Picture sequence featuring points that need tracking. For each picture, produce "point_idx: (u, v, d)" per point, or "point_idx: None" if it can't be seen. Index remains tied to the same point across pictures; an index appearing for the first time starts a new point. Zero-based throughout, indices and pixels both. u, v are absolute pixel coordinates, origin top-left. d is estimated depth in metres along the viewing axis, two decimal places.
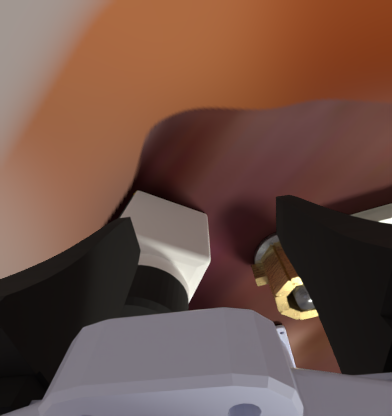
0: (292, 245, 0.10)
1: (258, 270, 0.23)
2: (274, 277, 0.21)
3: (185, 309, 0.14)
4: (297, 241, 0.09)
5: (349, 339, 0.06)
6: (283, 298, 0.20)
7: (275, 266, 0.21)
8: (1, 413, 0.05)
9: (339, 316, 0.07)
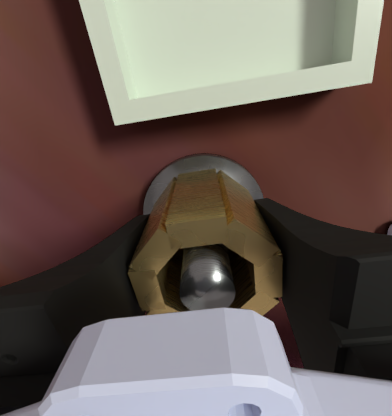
0: None
1: None
2: None
3: None
4: None
5: (310, 342, 0.06)
6: None
7: None
8: (1, 413, 0.05)
9: (302, 320, 0.07)
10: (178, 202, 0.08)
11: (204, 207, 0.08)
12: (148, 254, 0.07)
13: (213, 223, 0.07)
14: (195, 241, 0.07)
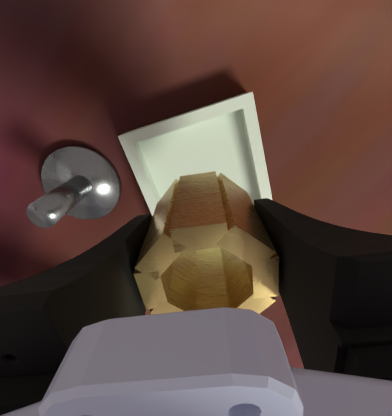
0: None
1: None
2: None
3: None
4: None
5: (309, 342, 0.06)
6: None
7: None
8: (1, 413, 0.05)
9: (302, 320, 0.07)
10: (181, 206, 0.09)
11: (206, 212, 0.08)
12: (153, 257, 0.08)
13: (214, 228, 0.07)
14: (197, 245, 0.08)
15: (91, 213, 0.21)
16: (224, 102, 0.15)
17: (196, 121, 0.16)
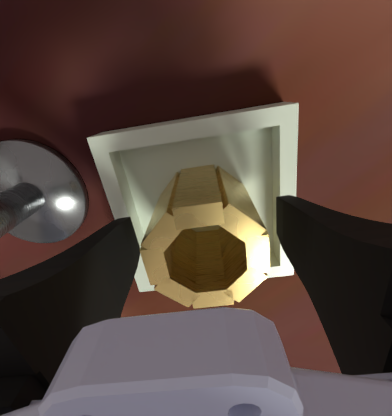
0: (292, 245, 0.10)
1: None
2: None
3: None
4: (297, 241, 0.09)
5: (349, 339, 0.06)
6: (198, 297, 0.10)
7: None
8: (1, 413, 0.05)
9: (339, 316, 0.07)
10: (181, 192, 0.10)
11: (204, 195, 0.09)
12: (157, 234, 0.09)
13: (211, 207, 0.08)
14: (196, 223, 0.09)
15: (42, 235, 0.15)
16: (254, 112, 0.10)
17: (208, 133, 0.11)
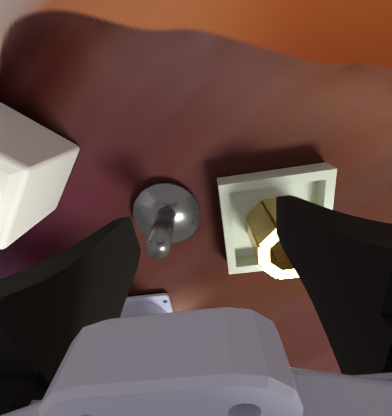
0: (292, 245, 0.10)
1: None
2: None
3: None
4: (297, 241, 0.09)
5: (349, 339, 0.06)
6: (283, 272, 0.19)
7: None
8: (1, 413, 0.05)
9: (339, 316, 0.07)
10: None
11: None
12: (268, 239, 0.18)
13: None
14: None
15: None
16: (312, 173, 0.19)
17: (286, 183, 0.19)
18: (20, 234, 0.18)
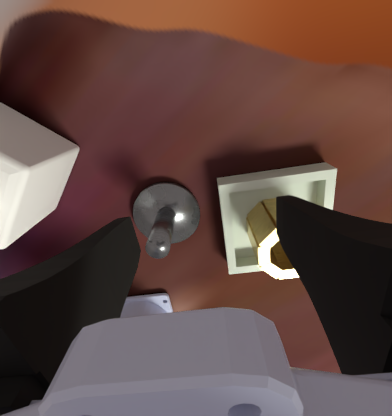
0: (292, 245, 0.10)
1: None
2: None
3: None
4: (297, 241, 0.09)
5: (349, 339, 0.06)
6: (283, 272, 0.19)
7: None
8: (1, 413, 0.05)
9: (339, 316, 0.07)
10: None
11: None
12: (268, 239, 0.18)
13: None
14: None
15: None
16: (312, 173, 0.19)
17: (286, 183, 0.19)
18: (20, 234, 0.18)
